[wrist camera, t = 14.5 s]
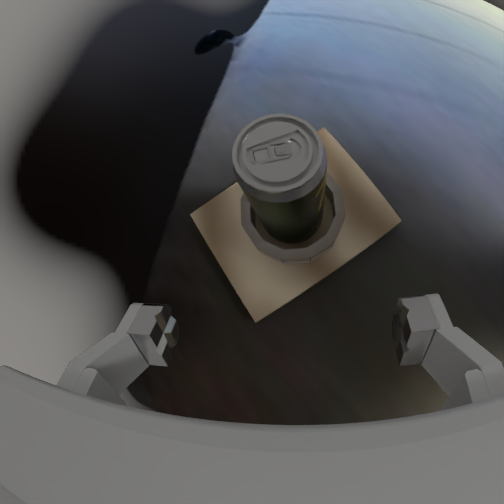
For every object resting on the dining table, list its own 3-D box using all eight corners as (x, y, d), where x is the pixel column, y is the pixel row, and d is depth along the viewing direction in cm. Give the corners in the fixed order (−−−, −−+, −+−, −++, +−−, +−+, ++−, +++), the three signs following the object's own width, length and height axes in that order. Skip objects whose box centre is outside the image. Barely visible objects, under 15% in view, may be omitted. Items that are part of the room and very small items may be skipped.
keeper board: (323, 135, 29) (324, 113, 26) (397, 225, 26) (409, 212, 22) (195, 218, 30) (179, 206, 27) (258, 321, 27) (249, 323, 23)
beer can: (268, 251, 27) (235, 206, 15) (258, 195, 28) (222, 123, 16) (328, 238, 26) (339, 184, 14) (314, 183, 27) (312, 102, 16)
